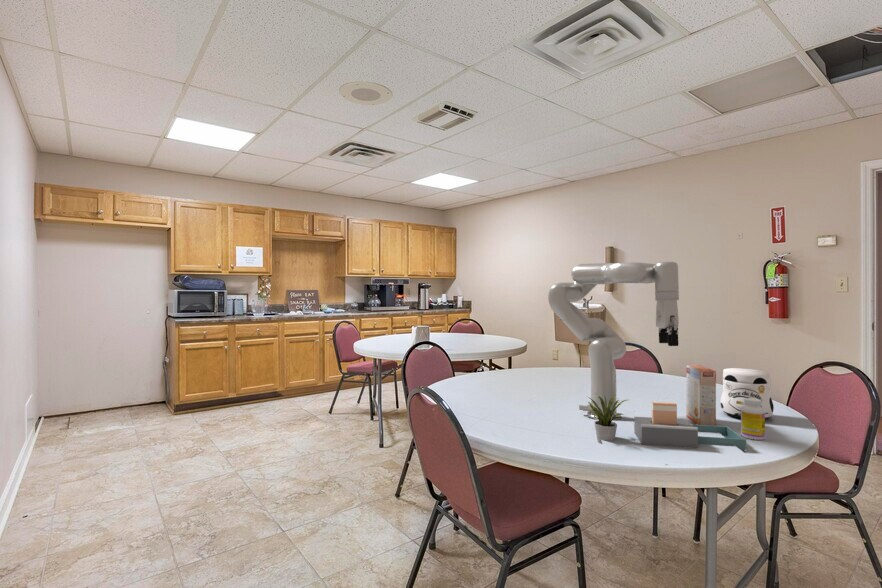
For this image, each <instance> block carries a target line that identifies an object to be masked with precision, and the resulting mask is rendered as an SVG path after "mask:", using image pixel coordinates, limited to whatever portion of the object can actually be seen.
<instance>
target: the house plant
mask: <svg viewBox="0 0 882 588" xmlns="http://www.w3.org/2000/svg"><path fill="white" fill-rule="evenodd" d="M596 395H597V394H596ZM597 396H598V395H597ZM615 396H616V397H617V393H616V395H613V396H612V397H611V399H610V400H609V403H608V404H607V402H606V397H605V395H604V397H605V403H604V400H603V399H602V398H601V397H600V396H598V397H599V399H600V401H601V405H602V408H603V412H604V415H603V413H602V410H601V409H600V408H599V407H598V405H597V404H596V403H595V401H593V400H592V399H591V397H590V396H586V397H587V398H588V399H589V400H590V401H587V403H588V405H590V407H591V408H592V410H590V411H594V412H591V413H594V414H596V415H597V416H598V419H599V420H596V421H594V429H595V434H596V440H597V443H598V444H600V445H603V442H602V441H609V442H610V441H614V440H615V439H616V435H617V428H618V424H617V423H616V422H614V421H613V419H617V418H620V419H623V417H622V416H625V415H624V414H623V413H622V412H621V413H619V412H618V413H619V414H616V415H615V416H614V417H612V414H613V412H614V411H615V409H616V410H617V409H618V407H619V406H621V405H622V403H624V402H626V401H628V399H624V400H621V401H620V399H616V402H615V404H614V406H613V408H612V410H610V408H611V405H612V403H613V402H612V401H613V399H614V397H615ZM591 400H592V401H593V402H592V403H593V404H594V405H595V406H596V407H597V408H596V407H594V406H593V405H592V404H591ZM607 406H608V408H607ZM615 406H616V407H615ZM597 409H598V410H599V411H598V410H597ZM617 415H621V417H616V416H617ZM611 417H612V419H611ZM625 417H626V416H625ZM593 418H597V417H595V416H594V417H592V418H591V419H593Z"/></svg>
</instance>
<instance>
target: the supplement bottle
mask: <svg viewBox="0 0 882 588" xmlns="http://www.w3.org/2000/svg"><path fill="white" fill-rule="evenodd" d="M744 402H745V406H742V408H741V418H740V423H741V424H740V431H741V433H740V434H741V435H740V436H742V437H743V438H744V439H748V438H749V440H753V439H754V440H755V441H762V440H765V438H766V419H765V411H764V409H763V408H761V407H760V405H761V400H759V399H754V398H745V399H744ZM754 440H753V441H754Z"/></svg>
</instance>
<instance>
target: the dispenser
mask: <svg viewBox="0 0 882 588" xmlns="http://www.w3.org/2000/svg"><path fill="white" fill-rule="evenodd" d="M633 423H634V424H633V425H634V426H633V427H634V428H633V429H634V431H633V432H634V434H635V436H636V438H637V439H638V441H639V442H640V444H641V445H644V446H659V447H660V446H661V447H675V448H689V449H690V448H691V449H699V443H698V436H699V431H698V428H697V427H694V426H693V425H694V424H692V425H691V422H689V421H688V420H687V419H685V418H677V425H673V424H655V423H652V416H651V417H650V416H649V417H646V416H634V421H633Z"/></svg>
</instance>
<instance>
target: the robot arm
mask: <svg viewBox="0 0 882 588" xmlns="http://www.w3.org/2000/svg"><path fill="white" fill-rule="evenodd" d="M571 278H572V280H573V282H558V283H555V284H553V285H552V286H551V287H550V289H549V291H548V294H547V297H548V298H547V299H548V303H549V307H550V308H551V310H552V312H553V313H554V314H555V315H556V316H557V317H558V318H559V320H561V321H562V322H563V323H564V324H565V325H566V327H568V329H569V330H570V331H571V333H573V334H574V336H576V338H577V339H578V340H580V341H581V342H590V344H589V345H588V351H587V352H588V358H589V359H588V360H589V365H590V398H591V399H592V400H593V401H595V403H596V404H597V405H598V407H599V408H600V409H601V410H602V413H603V415H604V412H603V408H602V405H601V401H600V399H599V397H598V396H600V397H601V398H602V399H603V400H604V403H605V397H606V402H607V404H608V403H609V400H610V399H611V397H612V396H613V395H616V394H617V370H616V369H617V368H616V366H615V362H614V361H615V360H619V359H621V358H623V357H624V356H625V354H626V352H627V345H626V343H625V341H624V339H623V338H622V337H621V336H620V335H619V334H618V333H617V332H616V331H615V330H614V329H613V328H612V327H611V326H610V325H609V324H608V323H607V322H606V321H605V320H603V319H601V318H598V317H588V316H586V314H585V313H584V312H582V310H581V309H580V308H578V307H577V306H576V305H574V304H573V303H576V302H580V301H582V300H583V299H584V298H585V297H586V296H587V295H588V294H589V293H591V291H592V290H594V288H595V287H596V286H598V285H612V284H654V294H655V295H654V296H655V298H654V299H655V301H656V306H655V307H656V308H655V326H656V328H658V343H659V344H667V346H669V347H678V346H679V323H680V322H679V308H678V301H680V292H679V291H680V289H679V285H680V284H679V266H678V263H677V262H676V261H661V262H656V263H647V262H616V263H615V262H614V263H612V262H600V263H599V262H598V263H597V262H596V263H579V264H577V265H575V266H574V267H573V268H572V270H571ZM596 394H597V395H598V396H597V395H596ZM604 395H605V397H604ZM591 399H590V403H591V404H592V405H593V406H594V407H596V406H595V405H594V404H593V403H592V402H593V401H592V400H591ZM616 401H617V395H616V396H615V397H614V399H613V401H612V402H613V403H612V405H611V408H610V410H612V408H613V406H614V404H615V402H616ZM616 406H617V405H616ZM616 406H615V407H616ZM596 408H597V407H596ZM607 408H608V406H607ZM578 409H579V410H578V411H583V412H586V415H587V417H589V418H591V419H593V420H596V421H599V419H598V416H597V415H596V414H594V413H591V412H594V411H590V410H592V408H591V407H590V404H587V405H583V404H582V405H581V404H579V405H578ZM597 410H598V409H597ZM598 411H599V410H598ZM616 414H619V412H617V408H616V409H615V411H614V412H613V414H612V417H614V416H615V415H616ZM594 416H595V417H597V418H592V417H594ZM612 417H611V419H612ZM616 417H622V415H617V416H616ZM620 419H621V418H617V419H613V420H612V422H614V421H619V420H620Z"/></svg>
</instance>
